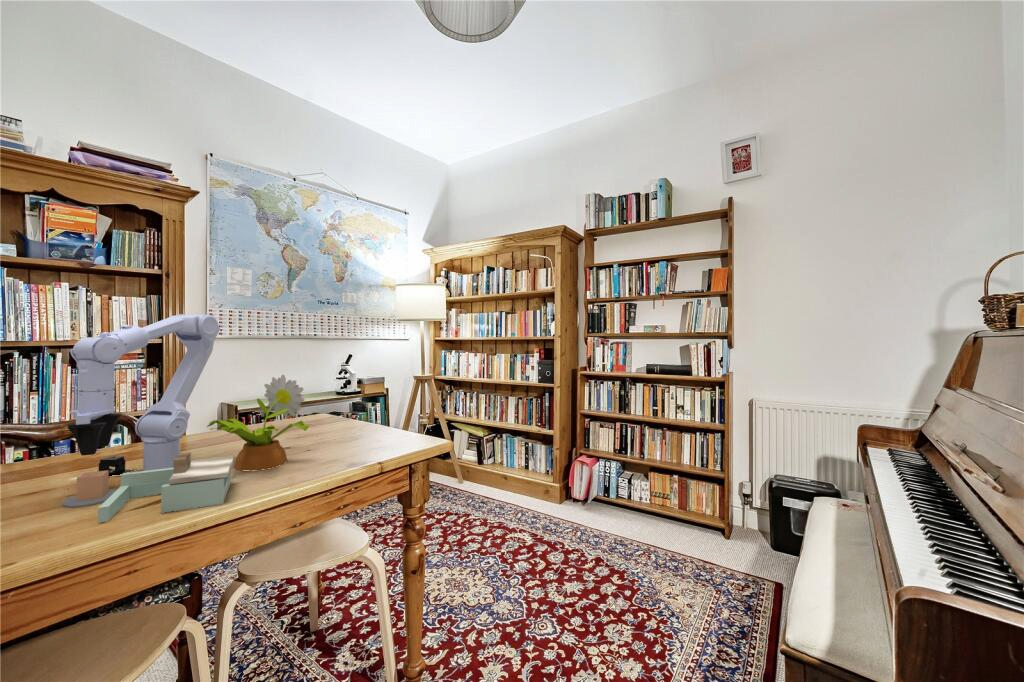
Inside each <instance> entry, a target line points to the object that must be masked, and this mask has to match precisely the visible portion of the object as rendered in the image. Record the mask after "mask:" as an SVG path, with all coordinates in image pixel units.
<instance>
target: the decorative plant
mask: <svg viewBox="0 0 1024 682" xmlns="http://www.w3.org/2000/svg"><path fill="white" fill-rule="evenodd" d="M263 386H264V388H265V389H266V390H265V393H264V397H265V398H267V401H268V404H267V406H266V405H265V403H264V402H263V401H262V400H261V399H260V398H257V399H256V402H257V403H258V406H259V408H260V409H261V411H262V412H264V413H265V415H266V416H265V418H264V422H263V426H262V427H258V428H257V429H254V430H253V429H252V430H250V429H249V428H248V426H247V425H246V424H245V423H244V422H242V421H239V420H238V419H237V418H235V417H234V418H229V419H226V420H225V419H221V420H220V419H218V420H217V419H216V420H215V419H214V420H212V421H210V422H209V423H208V425H207V426H206V428H208V427H211V426H214V425H215V424H219V426H217V427H216V428H214V427H211V428H209V429H210V431H211V430H214V429H215V430H218V429H219V431H222V430H223V431H225V432H227V433H228V434H229V433H230V434H234V435H236V436H238V437H240V438H241V439H242V440H243V441H244V442H245V443H244V444H243V446H242V449H241V450H240V451H239V452H238V454H237V455H236V457H235V460H234V464H233V469H234V468H235V469H238V470H260V471H263V470H262V469H266V470H269V469H268V468H271V469H273V468H272V467H275V468H277V467H276V466H278V467H280V466H279V465H281V466H283V465H285V464H286V463H287V462H288V457H287V453H286V450H285V449H284V447H283V446H282V445H281V444H280V440H279V439H276V438H277V437H278V436H280V435H281V434H283V433H284V432H287V430H289V429H291V428H292V427H297V428H300V429H301V430H303V431H305V432H306V431H307V430H308V429H309V427H310V426H311V425H310V424H305V423H304V421H303V420H300V421H297V422H294V423H290V424H288V425H287V426H285V428H282V429H281V430H280V431H279V432H278V430H279V429H278V428H276V426H275V425H273V424H270V425H269V426H266V424H267V421H268V419H271V418H274V417H277V416H279V415H283V416H284V418H286V419H287V418H288V416H289V415H290V416H291V417H293V418H295V417H296V413H299V411H301V409H302V407H301V406H300V405H302V403H303V402H305V399H304V398H303V394H301V393H302V392H303V391H304V387H302V386H301V387H300V385H299V384H297V380H295V379H294V380H292V379H289V380H287V379H286V375H285V374H282V375H280V377H278V378H277V379H276V377H274V376H273V377H271V382H270V384H269V383H265V384H264V385H263ZM267 407H268V408H269V409H268V408H267ZM271 410H274V412H273V413H271V414H270V415H269V413H270V412H271ZM273 431H276V432H278V433H276V434H274V435H273ZM272 435H273V436H272ZM286 461H287V462H286ZM285 462H286V463H285ZM284 463H285V464H284ZM282 464H283V465H282ZM235 469H234V470H235ZM238 470H237V471H238Z"/></svg>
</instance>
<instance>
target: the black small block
mask: <svg viewBox="0 0 1024 682" xmlns="http://www.w3.org/2000/svg"><path fill="white" fill-rule="evenodd" d="M137 469H138V468H136V469H135V468H134V469H132V470H130V469H126V459H125V455H124V456H121V455H120V456H119V455H118V456H115V455H114V456H113V455H112V456H107V457H104V458H101V459H99V463H98V471H106V470H109V476H112V475H120V474H123V473H127V472H131V471H134V470H137ZM137 471H138V470H137Z"/></svg>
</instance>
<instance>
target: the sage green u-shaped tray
mask: <svg viewBox="0 0 1024 682" xmlns="http://www.w3.org/2000/svg"><path fill="white" fill-rule="evenodd" d="M231 469H232V468H231ZM231 469H230V472H229V474H228V477H223V478H216V479H208V480H200V481H192V482H184V483H177V484H169V479H170V478H171V477H172V475H173V474H174V468H166V469H157V470H148V471H143V470H142V471H139V470H138V471H135V472H130V473H123V474H122V475H121V476H120V486H119V487H118V488H116V489H117V490H116V491H115V492H114V493H113V494H112V495H111V496H110V497H109V498H108V499H107V500H106V501H105V502H103V503H101V504H100V505H99V506H98V507H97V523H98V524H101V522H103V523H108V522H107V521H109V520H110V521H111V520H112V519H113V517H114V516H115V515H116V514H117V513H118V512H119V511H120V510H121V509H122V508H123V506H124V505H125V504H126V503H127V502H128V501H129V500H130V499H129V498H131V499H136V498H137V497H139V498H145V497H144V496H146V497H152V496H151V495H153V496H159V495H158V494H161V495H160V496H161V498H160V499H161V501H160V503H161V505H160V506H161V507H160V509H161V510H160V511H161V512H160V513H161V514H166V513H165V512H167V513H172V512H171V511H174V512H177V511H176V510H180V511H185V510H184V509H187V510H191V509H190V508H193V509H198V507H200V508H205V507H210V506H211V507H212V506H218V505H224V503H225V500H226V497H227V495H228V492H227V491H229V489H230V486H231V478H232V477H231V474H232V473H231ZM228 488H229V489H228ZM128 499H129V500H128ZM120 508H121V509H120ZM119 509H120V510H119ZM118 510H119V511H118ZM117 511H118V512H117ZM116 512H117V513H116ZM115 513H116V514H115ZM113 515H114V516H113Z"/></svg>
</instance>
